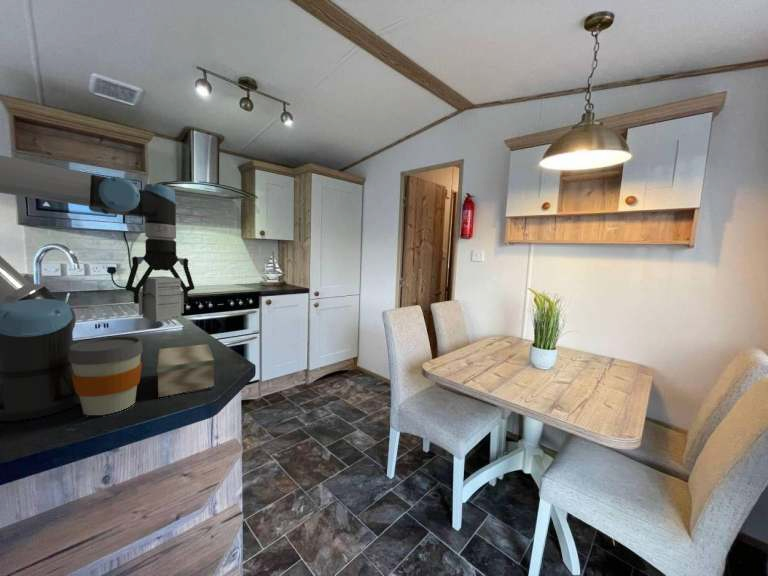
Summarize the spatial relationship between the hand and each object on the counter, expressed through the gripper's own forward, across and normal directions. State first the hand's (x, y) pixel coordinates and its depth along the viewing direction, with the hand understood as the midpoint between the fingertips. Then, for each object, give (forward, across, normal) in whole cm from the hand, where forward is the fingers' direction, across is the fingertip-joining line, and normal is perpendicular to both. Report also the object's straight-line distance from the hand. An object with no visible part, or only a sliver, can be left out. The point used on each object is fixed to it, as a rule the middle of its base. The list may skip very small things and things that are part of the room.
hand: (162, 313), depth 97 cm
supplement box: (+2, 0, 0) cm, 2 cm away
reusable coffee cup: (+17, -10, -25) cm, 32 cm away
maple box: (+17, +6, -17) cm, 24 cm away
